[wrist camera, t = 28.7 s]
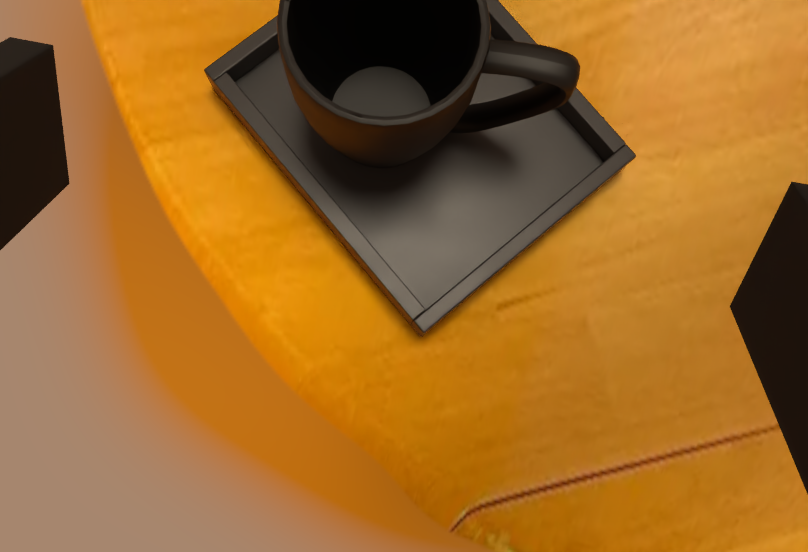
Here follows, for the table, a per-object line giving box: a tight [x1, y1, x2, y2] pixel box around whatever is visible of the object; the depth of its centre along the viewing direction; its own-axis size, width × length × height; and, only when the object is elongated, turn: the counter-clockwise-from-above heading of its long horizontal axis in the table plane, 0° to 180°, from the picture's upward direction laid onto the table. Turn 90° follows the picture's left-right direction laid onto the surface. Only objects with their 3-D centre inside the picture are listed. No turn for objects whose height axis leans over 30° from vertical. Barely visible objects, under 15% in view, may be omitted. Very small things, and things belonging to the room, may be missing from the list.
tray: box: [204, 0, 636, 337], centre depth 38 cm, size 17×14×2 cm
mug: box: [277, 0, 580, 168], centre depth 33 cm, size 8×12×10 cm
